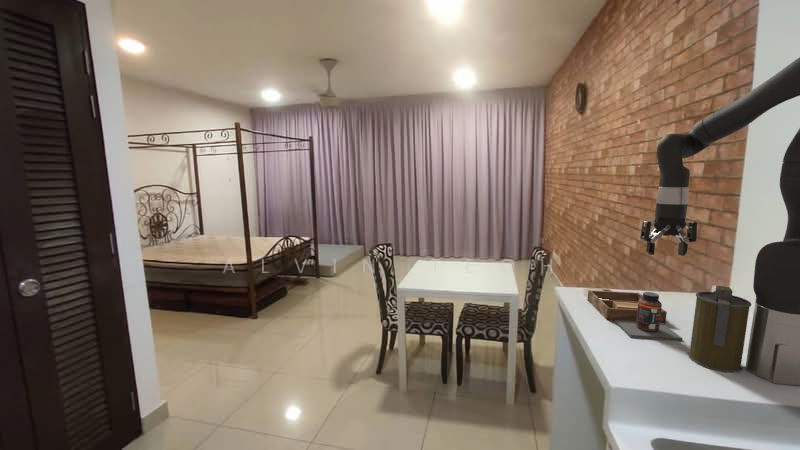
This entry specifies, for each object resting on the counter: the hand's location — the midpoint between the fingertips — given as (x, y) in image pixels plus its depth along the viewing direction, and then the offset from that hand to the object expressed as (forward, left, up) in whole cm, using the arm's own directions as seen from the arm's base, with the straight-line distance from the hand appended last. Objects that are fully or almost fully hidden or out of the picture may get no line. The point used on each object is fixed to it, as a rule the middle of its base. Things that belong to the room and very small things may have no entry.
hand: (666, 254), depth 107 cm
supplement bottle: (-3, +4, -23) cm, 24 cm away
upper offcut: (+8, +4, -22) cm, 24 cm away
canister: (-20, -3, -24) cm, 31 cm away
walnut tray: (+13, +5, -24) cm, 28 cm away
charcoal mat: (-3, +5, -24) cm, 24 cm away
